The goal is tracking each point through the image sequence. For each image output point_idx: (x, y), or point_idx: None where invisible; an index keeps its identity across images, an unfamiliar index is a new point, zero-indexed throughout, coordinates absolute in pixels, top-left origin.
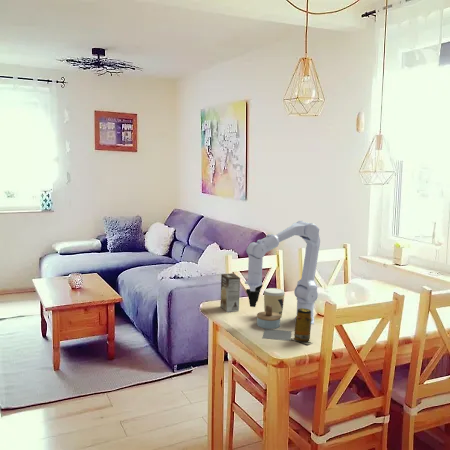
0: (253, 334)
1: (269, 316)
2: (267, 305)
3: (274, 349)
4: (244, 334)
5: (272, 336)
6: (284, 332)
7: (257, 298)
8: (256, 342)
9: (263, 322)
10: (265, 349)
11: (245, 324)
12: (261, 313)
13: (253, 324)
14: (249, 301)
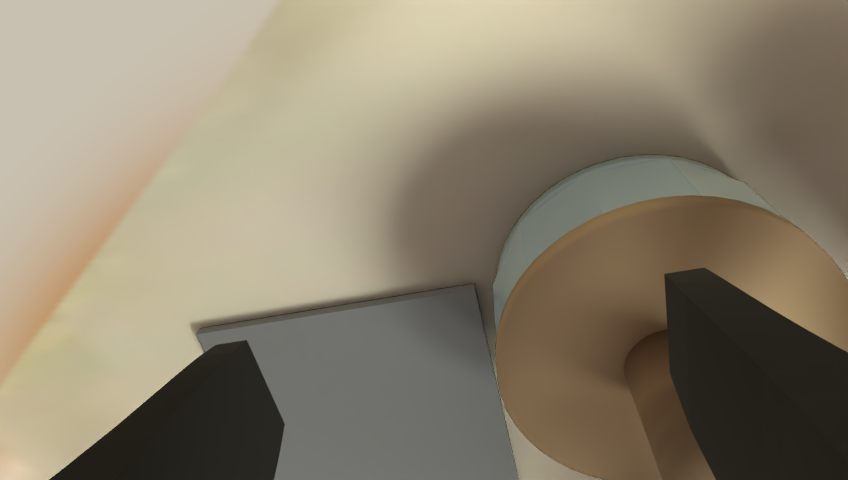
0: (267, 221)
1: (609, 385)
2: None
3: (61, 455)
4: (205, 132)
5: (294, 399)
6: (456, 458)
7: (702, 440)
8: (88, 308)
9: (501, 304)
10: (8, 405)
11: (571, 6)
12: (723, 260)
13: (613, 110)
14: (123, 427)
